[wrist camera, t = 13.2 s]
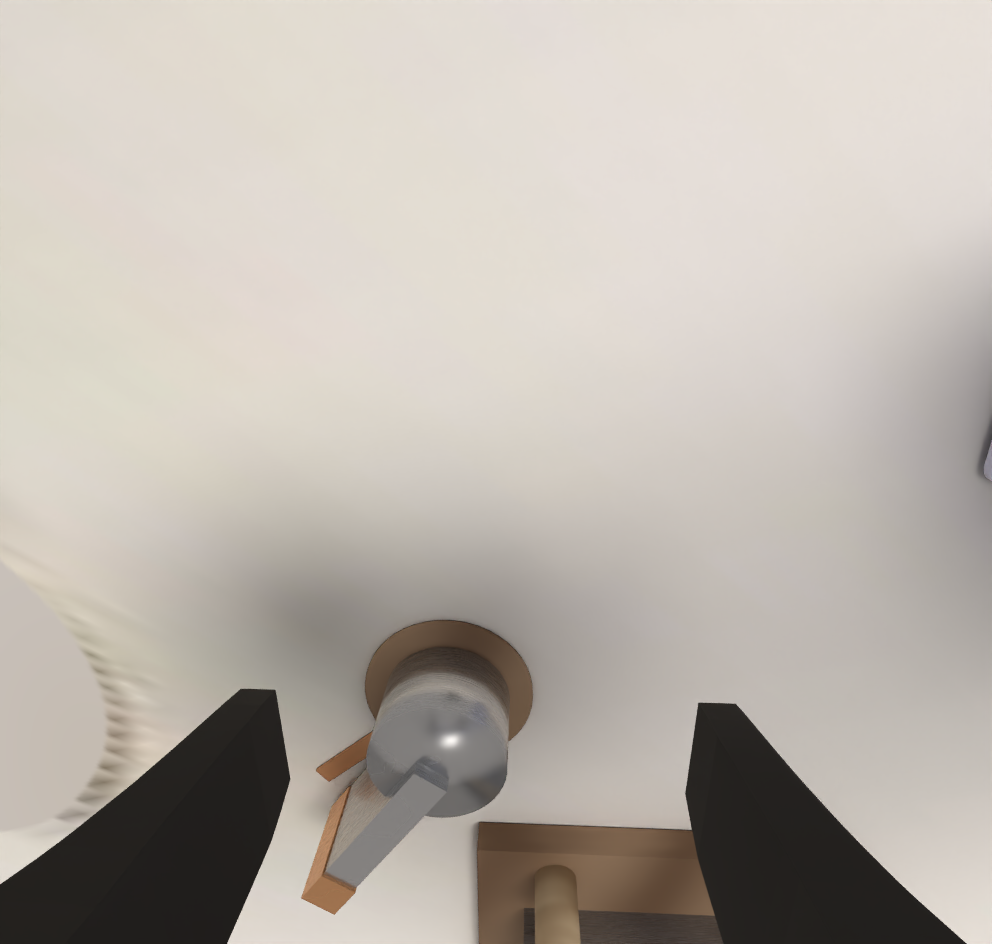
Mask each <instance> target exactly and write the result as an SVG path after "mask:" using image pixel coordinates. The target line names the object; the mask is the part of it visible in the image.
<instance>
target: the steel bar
mask: <svg viewBox="0 0 992 944" xmlns="http://www.w3.org/2000/svg"><path fill="white" fill-rule="evenodd" d="M578 912H579V926H580V941H581V944H723V941H722V938H721V934H720V931H719V928H718V925H717V921H716V918H715V916H710V915H686V914H662V913H639V912H615V911H591V910H578ZM524 944H535V908H524Z"/></svg>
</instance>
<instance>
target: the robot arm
mask: <svg viewBox="0 0 992 944" xmlns="http://www.w3.org/2000/svg"><path fill="white" fill-rule="evenodd" d="M984 474H985V476H986V478H988V479H989V480H990V481H992V441H991V445H990V448H989V451H988V455H987V458H986V461H985V465H984ZM289 782H290V774H289V768H288V762H287V756H286V750H285V744H284V738H283V732H282V726H281V720H280V714H279V708H278V702H277V696H276V690H264V689H240V690H239V691H238V692H237V693H236V694H234V695H233V696H232V697H231V698H230V699H229V700H227V701H226V702H225V703H224V704H223V705H222V706H221V707H220V708H218V709H217V710H216V711H215V712H214V713H213V714H212V715H211V716H209V717H208V718H207V719H206V720H205V721H204V722H203V723H202V724H201V725H199V726H198V727H197V728H196V729H195V730H194V731H193V732H192V733H190V734H189V735H188V736H187V737H186V738H185V739H184V740H183V741H181V742H180V743H179V744H178V745H177V746H176V747H175V748H174V749H172V750H171V751H170V752H169V753H168V754H167V755H165V756H164V757H163V758H162V759H161V760H160V761H159V762H157V763H156V764H155V765H154V766H153V767H152V768H150V769H149V770H148V771H147V772H146V773H145V774H143V775H142V776H141V777H140V778H139V779H138V780H136V781H135V782H134V783H133V784H132V785H130V786H129V787H128V788H127V789H125V790H124V791H123V792H122V793H121V794H119V795H118V796H117V797H116V798H114V799H113V800H112V801H111V802H109V803H108V804H107V805H106V806H104V807H103V808H102V809H101V810H99V811H98V812H97V813H96V814H94V815H93V816H92V817H91V818H89V819H88V820H87V821H86V822H84V823H83V824H82V825H81V826H79V827H78V828H77V829H76V830H74V831H73V832H72V833H71V834H69V835H68V836H67V837H65V838H64V839H63V840H61V841H60V842H59V843H57V844H56V845H55V846H53V847H52V848H51V849H49V850H48V851H47V852H45V853H44V854H42V855H41V856H40V857H38V858H37V859H36V860H34V861H33V862H31V863H30V864H29V865H27V866H26V867H24V868H23V869H21V870H20V871H19V872H17V873H16V874H14V875H13V876H12V877H10V878H9V879H7V880H6V881H4V882H3V883H2V884H0V944H227V942H228V940H229V938H230V935H231V933H232V931H233V929H234V926H235V924H236V922H237V919H238V917H239V915H240V913H241V910H242V908H243V906H244V904H245V901H246V899H247V897H248V894H249V892H250V890H251V887H252V885H253V883H254V881H255V878H256V876H257V874H258V871H259V869H260V867H261V864H262V862H263V860H264V857H265V855H266V853H267V850H268V848H269V845H270V843H271V841H272V837H273V834H274V831H275V828H276V825H277V822H278V819H279V816H280V812H281V809H282V806H283V802H284V799H285V795H286V792H287V789H288V785H289ZM685 794H686V800H687V805H688V811H689V816H690V822H691V827H692V832H693V837H694V842H695V847H696V852H697V857H698V861H699V864H700V868H701V871H702V875H703V878H704V881H705V885H706V888H707V891H708V895H709V898H710V901H711V905H712V908H713V911H714V915H715V918H716V921H717V925H718V928H719V931H720V934H721V938H722V941H723V944H966V943H965V942H964V941H963V940H962V939H961V938H960V937H958V936H957V935H956V934H955V933H954V932H953V931H952V930H951V929H949V928H948V927H947V926H946V925H945V924H944V923H943V922H942V921H940V920H939V919H938V918H937V917H936V916H935V915H934V914H933V913H932V912H930V911H929V910H928V909H927V908H926V907H925V906H924V905H923V904H921V903H920V902H919V901H918V900H917V899H916V898H915V897H914V896H913V895H912V894H911V893H909V892H908V891H907V890H906V889H905V888H904V887H903V886H902V885H901V884H900V883H899V882H898V881H897V880H896V879H895V878H894V877H893V876H892V875H891V874H890V873H889V872H888V871H887V870H886V869H885V868H884V867H883V866H882V865H881V864H880V863H879V862H878V861H877V860H876V859H875V858H874V857H873V856H872V855H871V854H870V853H869V852H868V851H867V850H866V849H865V848H864V847H863V846H862V845H861V844H860V843H859V842H858V841H857V840H856V839H855V838H854V837H853V836H852V835H851V834H850V833H849V832H848V831H847V830H846V829H845V828H844V827H843V825H842V824H841V823H840V822H839V821H838V820H837V819H836V818H835V817H834V816H833V815H832V814H831V813H830V811H829V810H828V809H827V808H826V807H825V806H824V805H823V804H822V803H821V802H820V800H819V799H818V798H817V797H816V796H815V795H814V794H813V793H812V792H811V791H810V790H809V788H808V787H807V786H806V785H805V784H804V783H803V782H802V781H801V779H800V778H799V777H798V776H797V775H796V774H795V773H794V771H793V770H792V769H791V768H790V767H789V766H788V765H787V763H786V762H785V761H784V760H783V759H782V758H781V756H780V755H779V754H778V753H777V752H776V751H775V749H774V748H773V747H772V746H771V745H770V743H769V742H768V741H767V740H766V739H765V737H764V736H763V735H762V734H761V733H760V732H759V730H758V729H757V728H756V727H755V726H754V724H753V723H752V722H751V721H750V720H749V718H748V717H747V716H746V715H745V714H744V712H743V711H742V710H741V709H740V708H739V707H738V706H737V705H736V704H725V703H698V710H697V717H696V724H695V731H694V738H693V745H692V752H691V759H690V765H689V772H688V779H687V786H686V793H685Z"/></svg>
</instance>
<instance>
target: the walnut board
mask: <svg viewBox="0 0 992 944" xmlns="http://www.w3.org/2000/svg"><path fill="white" fill-rule="evenodd" d="M477 870H478V916H479V944H524V908H535V944H581V941H580V926H579V912H578V910H591V911H615V912H639V913H662V914H686V915H710V916H715V915H714V911H713V908H712V905H711V901H710V898H709V895H708V891H707V888H706V885H705V881H704V878H703V875H702V871H701V868H700V864H699V861H698V857H697V852H696V847H695V842H694V837H693V832H692V831H685V830H660V829H634V828H609V827H584V826H558V825H533V824H508V823H482V822H479V833H478V845H477Z"/></svg>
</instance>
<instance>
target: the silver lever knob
mask: <svg viewBox="0 0 992 944" xmlns="http://www.w3.org/2000/svg"><path fill="white" fill-rule="evenodd" d="M509 710H510V695H509V690H508V686H507V684H506V682H505V679H504V678H503V676H502V675H501V673H500V672H499V671H498V670H497V668H496V667H495V666H493V665H492V664H491V663H490V662H489V661H487V660H486V659H484V658H483V657H481V656H479V655H477V654H475V653H472V652H470V651H467V650H463V649H459V648H453V647H434V648H428V649H424V650H421V651H418V652H416V653H413V654H411V655H410V656H408V657H406V658H405V659H404V660H402V661H401V662H400V663H399V664H398V665H397V666H396V667H395V669H394V670H393V671H392V673H391V675H390V677H389V679H388V683H387V686H386V689H385V692H384V696H383V699H382V702H381V706H380V709H379V712H378V716H377V719H376V722H375V726H374V729H373V732H372V735H371V739H370V742H369V745H368V749H367V754H366V765H367V768H366V769H365V770H364V772H363V773H362V774H361V775H360V776H359V777H358V779H357V780H356V781H355V782H354V783H353V784H352V785H351V786H349V787H348V788H347V789H346V791H345V792H344V793H343V794H342V795H341V796H340V798H339V799H338V800H337V801H336V802H335V803H334V805H333V806H332V807H331V810H330V813H329V816H328V819H327V822H326V825H325V828H324V831H323V834H322V837H321V840H320V843H319V846H318V849H317V852H316V855H315V858H314V861H313V864H312V867H311V870H310V873H309V876H308V879H307V882H306V885H305V888H304V891H303V894H302V897H301V898H302V899H304V900H306V901H308V902H310V903H312V904H314V905H316V906H318V907H320V908H322V909H324V910H326V911H328V912H330V913H332V914H334V915H335V913H336V912H337V911H338V910H339V909H340V908H341V907H342V906H343V905H344V904H345V903H346V902H347V901H348V900H349V899H350V898H351V897H352V896H353V895H354V894H355V891H356V887H357V886H358V885H359V884H360V883H361V882H362V881H363V880H364V879H365V878H366V877H367V876H368V875H369V874H370V873H371V872H372V870H373V869H374V868H375V867H376V866H377V865H378V864H379V863H380V862H381V861H382V860H383V859H384V858H385V857H386V856H387V855H388V854H389V853H390V852H391V850H392V849H393V848H394V847H395V846H396V845H397V844H398V843H399V842H400V841H401V840H402V839H403V838H404V837H405V836H406V835H407V834H408V833H409V831H410V830H411V829H412V828H413V827H414V826H415V825H416V824H417V823H418V822H419V821H420V820H421V819H422V818H423V817H424V816H430V817H455V816H461V815H465V814H469V813H471V812H474V811H476V810H478V809H480V808H482V807H484V806H485V805H487V804H488V803H490V802H491V801H492V800H493V799H494V798H495V797H496V796H497V795H498V794H499V792H500V791H501V789H502V787H503V785H504V783H505V780H506V775H507V760H508V735H509Z"/></svg>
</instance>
